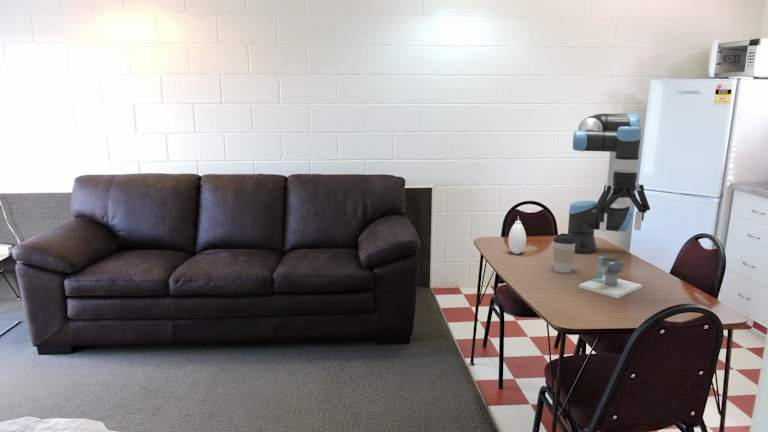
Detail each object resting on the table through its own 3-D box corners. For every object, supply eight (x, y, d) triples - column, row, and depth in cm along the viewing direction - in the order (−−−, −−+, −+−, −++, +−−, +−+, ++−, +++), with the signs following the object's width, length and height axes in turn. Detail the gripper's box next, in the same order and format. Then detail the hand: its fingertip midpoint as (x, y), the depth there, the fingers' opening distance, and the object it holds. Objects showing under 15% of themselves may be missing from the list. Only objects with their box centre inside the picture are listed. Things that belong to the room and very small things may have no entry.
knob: (611, 263, 204) (611, 256, 204) (630, 268, 199) (631, 260, 198) (590, 270, 196) (591, 263, 195) (609, 275, 190) (610, 267, 189)
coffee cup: (575, 274, 215) (578, 238, 212) (552, 272, 217) (554, 237, 214) (572, 267, 224) (574, 233, 221) (550, 266, 226) (552, 232, 222)
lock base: (604, 277, 211) (606, 253, 208) (641, 287, 199) (644, 262, 197) (579, 287, 200) (581, 261, 198) (617, 298, 188) (619, 271, 186)
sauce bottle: (516, 256, 240) (518, 218, 236) (504, 252, 247) (506, 215, 243) (528, 254, 244) (530, 216, 240) (516, 250, 251) (518, 213, 247)
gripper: (650, 169, 190) (645, 226, 195) (586, 170, 186) (582, 229, 191) (664, 171, 183) (658, 231, 187) (598, 172, 179) (593, 233, 183)
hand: (620, 230), depth 189 cm, fingers open, 13 cm apart
